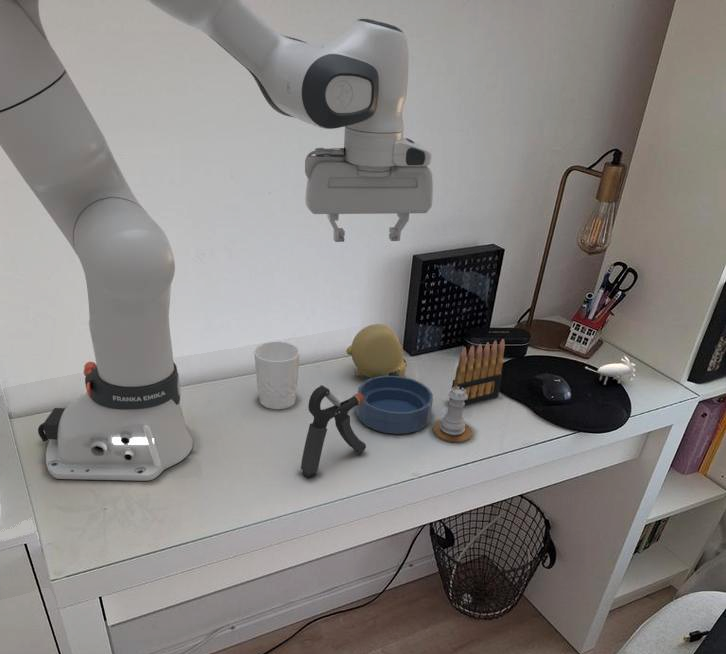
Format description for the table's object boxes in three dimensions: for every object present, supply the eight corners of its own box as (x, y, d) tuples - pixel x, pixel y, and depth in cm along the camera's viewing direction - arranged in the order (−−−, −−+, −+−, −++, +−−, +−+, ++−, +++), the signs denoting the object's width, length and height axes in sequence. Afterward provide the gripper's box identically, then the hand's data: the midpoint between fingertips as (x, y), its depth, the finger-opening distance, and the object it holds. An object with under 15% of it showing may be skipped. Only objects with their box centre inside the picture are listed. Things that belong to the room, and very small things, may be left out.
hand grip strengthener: (367, 453, 115) (374, 373, 106) (308, 480, 108) (309, 397, 99) (358, 447, 116) (364, 368, 107) (299, 473, 109) (300, 391, 100)
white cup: (248, 404, 125) (245, 355, 119) (268, 386, 130) (267, 337, 124) (286, 415, 122) (286, 365, 116) (306, 396, 128) (306, 347, 122)
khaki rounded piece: (367, 402, 135) (408, 380, 128) (331, 352, 132) (371, 327, 125) (386, 379, 142) (425, 358, 136) (352, 331, 139) (391, 307, 132)
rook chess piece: (463, 438, 119) (470, 398, 115) (438, 434, 120) (444, 394, 115) (465, 425, 123) (472, 386, 118) (441, 421, 124) (447, 382, 119)
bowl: (366, 438, 118) (368, 415, 116) (349, 399, 129) (350, 377, 126) (439, 432, 121) (443, 410, 119) (416, 394, 132) (419, 373, 129)
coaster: (440, 444, 118) (440, 442, 118) (427, 423, 124) (427, 421, 123) (477, 441, 120) (478, 439, 120) (463, 420, 125) (464, 418, 125)
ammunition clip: (492, 392, 134) (504, 336, 127) (498, 397, 133) (510, 340, 126) (448, 403, 130) (457, 345, 122) (453, 408, 128) (463, 350, 121)
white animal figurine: (623, 374, 144) (630, 353, 141) (638, 386, 140) (645, 365, 137) (573, 378, 141) (579, 357, 138) (586, 390, 137) (593, 369, 134)
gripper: (309, 152, 99) (307, 248, 108) (441, 154, 104) (430, 245, 112) (301, 143, 104) (300, 235, 112) (428, 145, 109) (419, 233, 117)
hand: (366, 240), depth 112 cm, fingers open, 8 cm apart
